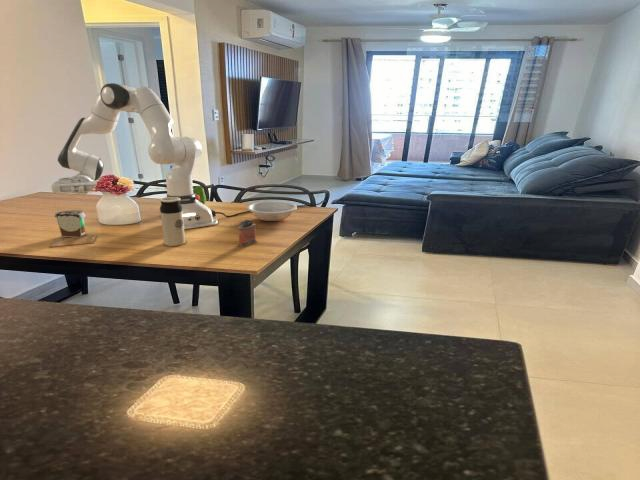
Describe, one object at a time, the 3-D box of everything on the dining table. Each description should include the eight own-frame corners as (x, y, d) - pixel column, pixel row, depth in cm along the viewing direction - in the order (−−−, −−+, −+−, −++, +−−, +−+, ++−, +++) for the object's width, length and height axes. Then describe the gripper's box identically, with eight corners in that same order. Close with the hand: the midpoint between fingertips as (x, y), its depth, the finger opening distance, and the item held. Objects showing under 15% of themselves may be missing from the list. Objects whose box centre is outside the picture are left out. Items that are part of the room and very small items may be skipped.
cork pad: (95, 236, 157) (95, 235, 157) (92, 243, 150) (92, 242, 149) (55, 240, 152) (55, 239, 152) (50, 247, 144) (50, 246, 144)
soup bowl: (282, 211, 203) (282, 199, 200) (305, 222, 184) (305, 209, 181) (240, 217, 190) (239, 204, 188) (260, 229, 171) (259, 215, 169)
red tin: (252, 240, 157) (251, 216, 154) (257, 242, 155) (257, 218, 152) (236, 245, 151) (235, 220, 148) (242, 247, 149) (241, 222, 146)
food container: (95, 233, 160) (92, 210, 157) (84, 237, 154) (80, 213, 151) (70, 232, 162) (66, 209, 160) (58, 236, 156) (54, 212, 154)
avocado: (206, 208, 204) (205, 186, 200) (191, 209, 202) (189, 187, 198) (206, 205, 212) (204, 184, 208) (191, 206, 209) (189, 184, 206)
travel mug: (160, 243, 151) (155, 198, 146) (179, 238, 157) (174, 195, 151) (170, 247, 146) (165, 202, 141) (189, 243, 152) (185, 199, 146)
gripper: (107, 190, 182) (104, 196, 170) (57, 192, 175) (50, 198, 163) (105, 177, 180) (102, 182, 168) (54, 178, 173) (47, 184, 161)
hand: (76, 190), depth 165 cm, fingers closed
